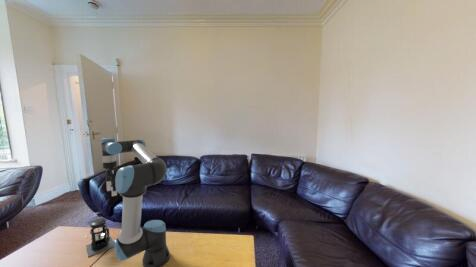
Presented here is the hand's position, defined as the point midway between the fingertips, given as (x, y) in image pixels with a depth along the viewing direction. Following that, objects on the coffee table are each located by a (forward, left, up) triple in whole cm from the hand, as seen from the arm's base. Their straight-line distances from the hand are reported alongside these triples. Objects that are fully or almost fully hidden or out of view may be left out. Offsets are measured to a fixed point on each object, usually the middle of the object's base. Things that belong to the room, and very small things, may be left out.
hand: (111, 193), depth 125 cm
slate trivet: (+4, +8, -36) cm, 37 cm away
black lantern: (+4, +8, -36) cm, 37 cm away
